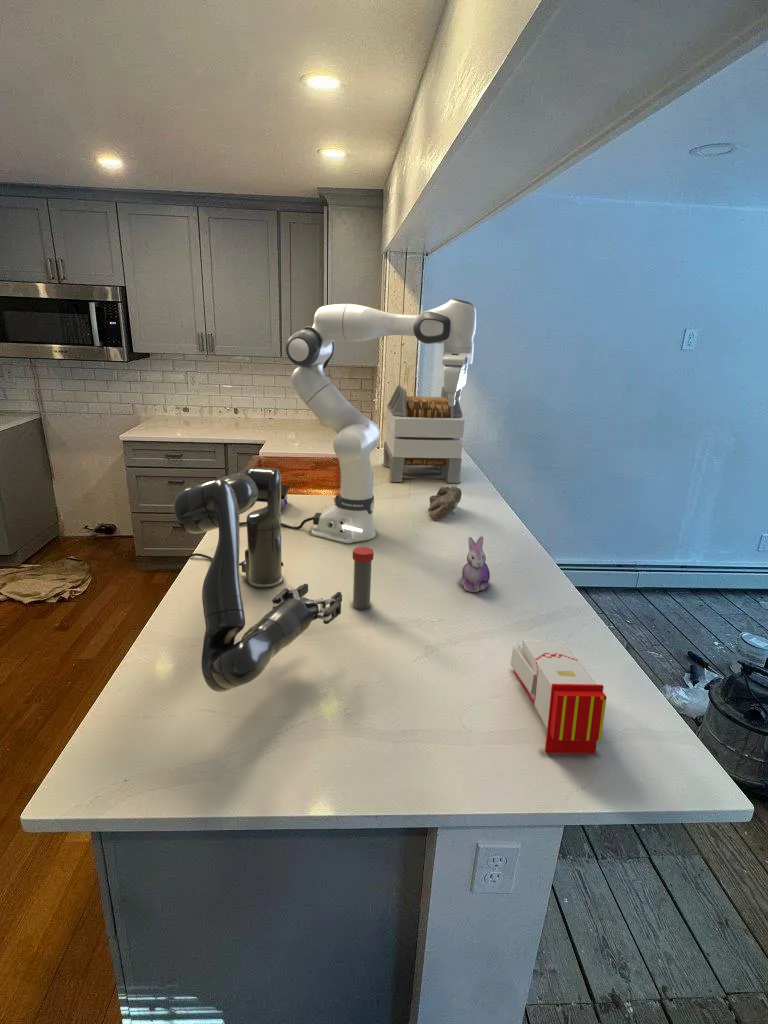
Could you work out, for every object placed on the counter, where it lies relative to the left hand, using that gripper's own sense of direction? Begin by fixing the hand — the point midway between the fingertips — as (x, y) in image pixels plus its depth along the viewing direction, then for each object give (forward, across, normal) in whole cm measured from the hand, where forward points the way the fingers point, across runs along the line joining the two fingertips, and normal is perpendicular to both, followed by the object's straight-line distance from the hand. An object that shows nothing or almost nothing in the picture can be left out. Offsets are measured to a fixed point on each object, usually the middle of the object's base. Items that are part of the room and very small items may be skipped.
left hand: (323, 591), depth 128 cm
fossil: (+103, +3, +13) cm, 104 cm away
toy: (+2, -51, +14) cm, 53 cm away
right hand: (+69, -7, -35) cm, 78 cm away
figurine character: (+75, +61, +13) cm, 98 cm away
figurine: (+47, -24, +14) cm, 54 cm away
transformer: (+151, +31, +12) cm, 155 cm away
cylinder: (+21, 0, +14) cm, 25 cm away
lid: (+21, 0, -2) cm, 21 cm away
